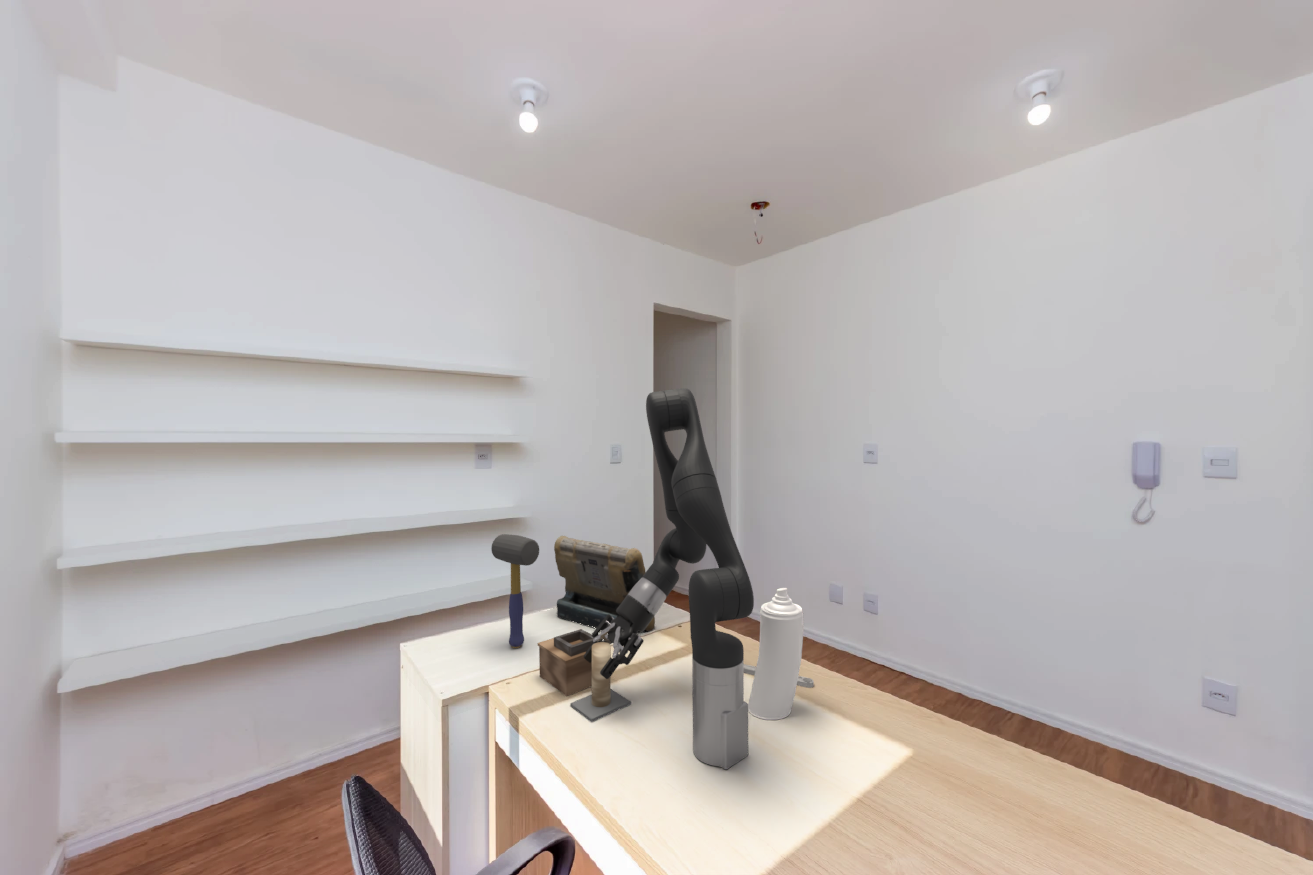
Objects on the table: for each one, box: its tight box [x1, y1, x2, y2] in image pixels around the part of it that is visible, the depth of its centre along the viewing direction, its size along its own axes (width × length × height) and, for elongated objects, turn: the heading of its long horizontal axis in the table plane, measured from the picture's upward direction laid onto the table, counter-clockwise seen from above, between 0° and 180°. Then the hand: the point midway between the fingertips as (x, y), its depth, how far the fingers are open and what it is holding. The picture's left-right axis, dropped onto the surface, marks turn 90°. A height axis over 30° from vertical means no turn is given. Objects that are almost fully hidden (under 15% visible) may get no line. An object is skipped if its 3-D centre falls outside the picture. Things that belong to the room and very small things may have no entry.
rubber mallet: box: [490, 533, 540, 649], centre depth 140 cm, size 12×8×30 cm, turn 54°
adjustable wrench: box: [744, 663, 815, 688], centre depth 124 cm, size 25×6×2 cm, turn 58°
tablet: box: [553, 535, 656, 632], centre depth 157 cm, size 33×14×25 cm, turn 59°
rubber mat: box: [569, 688, 632, 723], centre depth 111 cm, size 8×10×1 cm
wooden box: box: [537, 628, 594, 697], centre depth 123 cm, size 13×12×10 cm
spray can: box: [747, 587, 805, 721], centre depth 110 cm, size 12×11×25 cm
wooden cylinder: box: [591, 642, 612, 707], centre depth 111 cm, size 4×4×12 cm
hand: (594, 668), depth 110 cm, fingers open, 8 cm apart
